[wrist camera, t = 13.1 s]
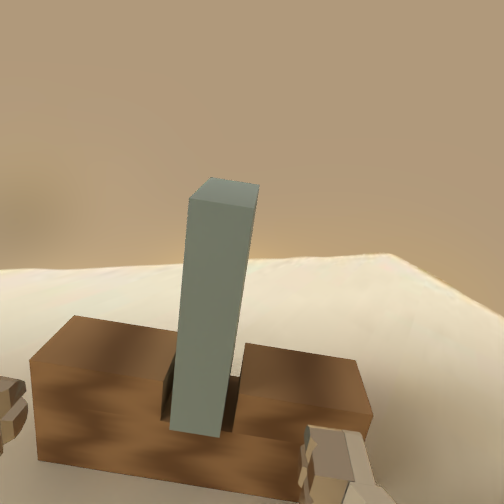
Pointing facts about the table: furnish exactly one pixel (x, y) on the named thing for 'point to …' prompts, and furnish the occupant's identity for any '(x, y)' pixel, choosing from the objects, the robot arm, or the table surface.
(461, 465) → the table surface
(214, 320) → the sage green pillar
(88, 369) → the notched wooden block
